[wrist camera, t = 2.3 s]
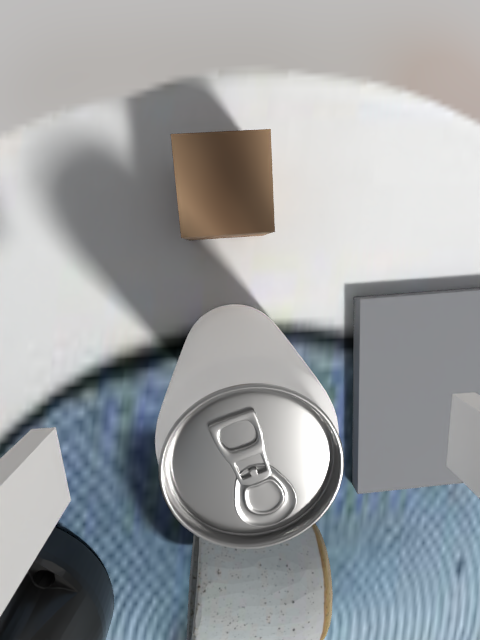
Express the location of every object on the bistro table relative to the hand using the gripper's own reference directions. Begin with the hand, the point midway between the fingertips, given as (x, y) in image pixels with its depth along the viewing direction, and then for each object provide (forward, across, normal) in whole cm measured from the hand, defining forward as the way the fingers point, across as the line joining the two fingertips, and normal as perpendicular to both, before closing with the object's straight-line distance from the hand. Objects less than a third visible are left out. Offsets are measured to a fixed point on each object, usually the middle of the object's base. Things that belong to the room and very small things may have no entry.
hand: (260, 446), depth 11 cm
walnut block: (+11, 0, -9) cm, 14 cm away
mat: (+11, -16, +4) cm, 20 cm away
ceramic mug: (+11, 0, +12) cm, 17 cm away
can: (+11, 0, 0) cm, 11 cm away
